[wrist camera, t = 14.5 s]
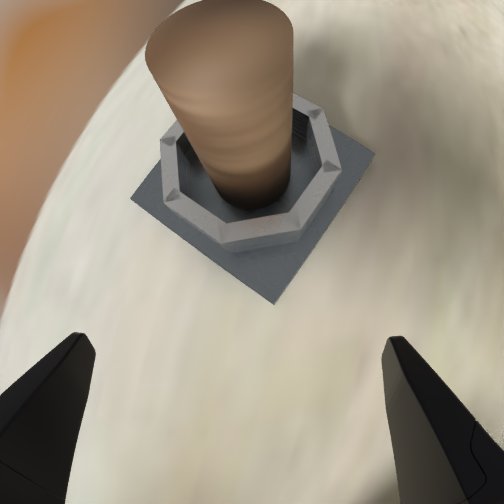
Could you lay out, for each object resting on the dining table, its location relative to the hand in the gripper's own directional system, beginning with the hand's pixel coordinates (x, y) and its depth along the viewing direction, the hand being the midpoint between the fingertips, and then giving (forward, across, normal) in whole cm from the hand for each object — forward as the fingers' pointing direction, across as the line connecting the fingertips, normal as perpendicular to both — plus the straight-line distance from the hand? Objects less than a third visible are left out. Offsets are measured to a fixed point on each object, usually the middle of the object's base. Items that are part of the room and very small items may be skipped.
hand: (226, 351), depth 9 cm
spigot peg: (+14, 0, 0) cm, 14 cm away
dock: (+15, 0, +1) cm, 15 cm away
